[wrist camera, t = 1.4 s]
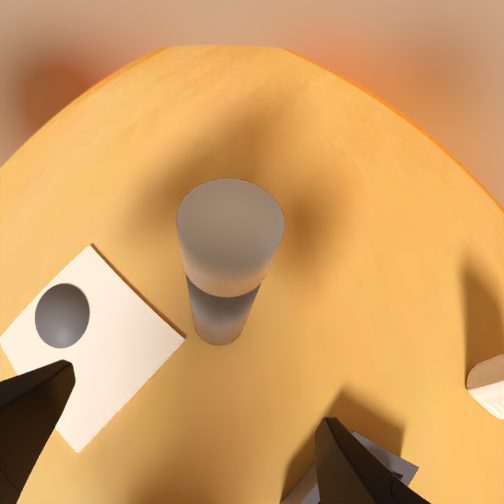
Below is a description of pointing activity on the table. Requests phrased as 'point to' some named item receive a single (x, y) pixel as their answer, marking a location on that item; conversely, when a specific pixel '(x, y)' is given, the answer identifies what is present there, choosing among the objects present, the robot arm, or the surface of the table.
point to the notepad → (91, 342)
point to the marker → (226, 252)
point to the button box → (306, 491)
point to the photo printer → (488, 385)
